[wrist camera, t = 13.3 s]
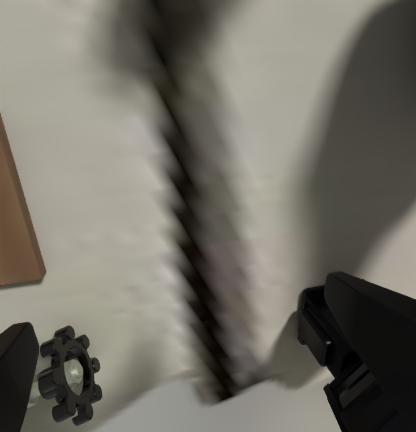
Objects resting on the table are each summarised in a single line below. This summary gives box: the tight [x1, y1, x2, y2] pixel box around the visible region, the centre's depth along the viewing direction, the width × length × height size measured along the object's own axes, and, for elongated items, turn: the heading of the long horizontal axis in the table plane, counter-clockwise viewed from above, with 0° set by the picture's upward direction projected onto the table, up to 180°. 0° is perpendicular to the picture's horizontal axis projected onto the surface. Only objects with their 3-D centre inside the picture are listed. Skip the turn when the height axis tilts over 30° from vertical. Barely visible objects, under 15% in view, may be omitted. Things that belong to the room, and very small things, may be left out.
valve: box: [27, 326, 102, 426], centre depth 21 cm, size 7×7×12 cm
